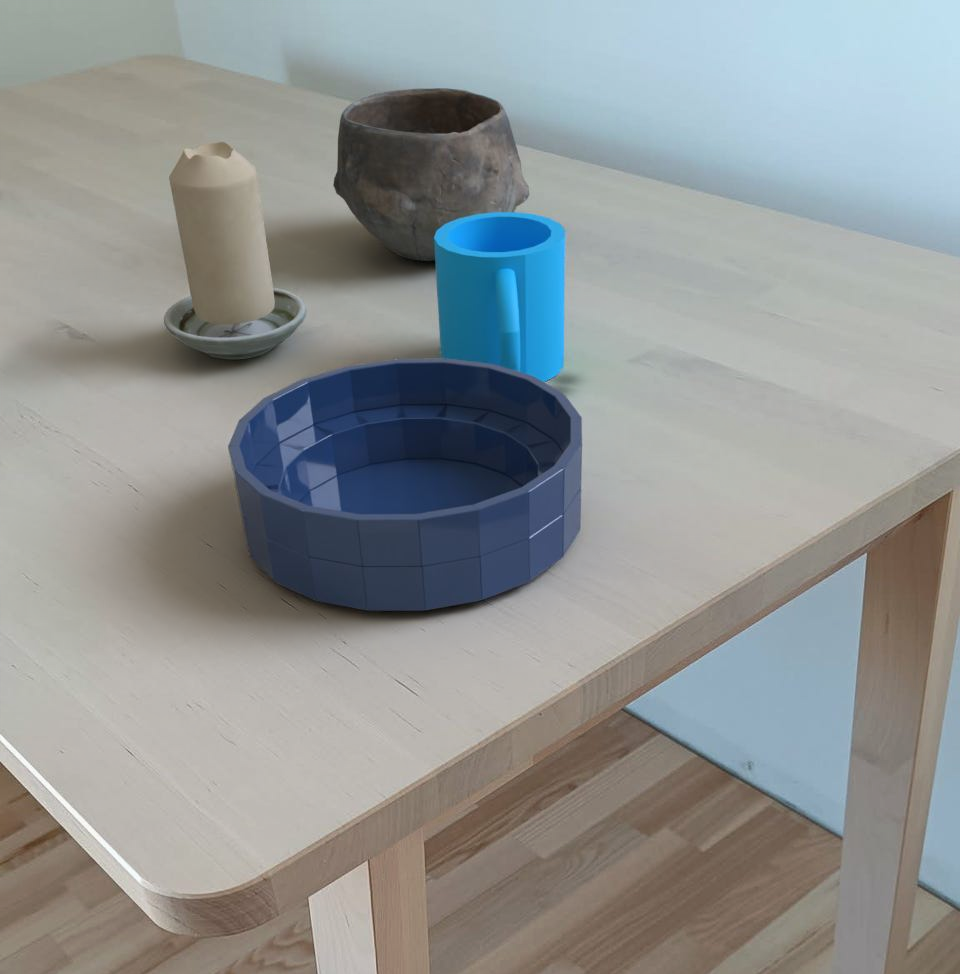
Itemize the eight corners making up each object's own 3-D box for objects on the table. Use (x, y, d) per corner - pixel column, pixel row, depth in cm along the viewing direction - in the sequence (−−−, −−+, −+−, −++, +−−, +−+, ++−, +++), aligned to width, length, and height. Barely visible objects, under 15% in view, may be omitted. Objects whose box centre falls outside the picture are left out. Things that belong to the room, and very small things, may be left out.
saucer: (287, 377, 84) (281, 341, 82) (149, 371, 86) (141, 335, 84) (326, 320, 91) (322, 285, 89) (198, 315, 92) (191, 281, 91)
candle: (262, 327, 84) (236, 161, 77) (183, 324, 85) (151, 160, 78) (285, 295, 88) (263, 135, 81) (209, 293, 89) (181, 134, 82)
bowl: (384, 296, 94) (371, 147, 87) (316, 234, 104) (300, 95, 97) (553, 262, 98) (554, 116, 91) (472, 205, 108) (467, 70, 101)
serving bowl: (228, 476, 75) (211, 385, 71) (525, 429, 78) (524, 339, 74) (273, 647, 62) (255, 546, 58) (627, 583, 65) (632, 484, 61)
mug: (439, 342, 87) (432, 215, 82) (557, 335, 88) (558, 208, 82) (446, 420, 79) (438, 284, 73) (577, 412, 79) (579, 276, 73)
